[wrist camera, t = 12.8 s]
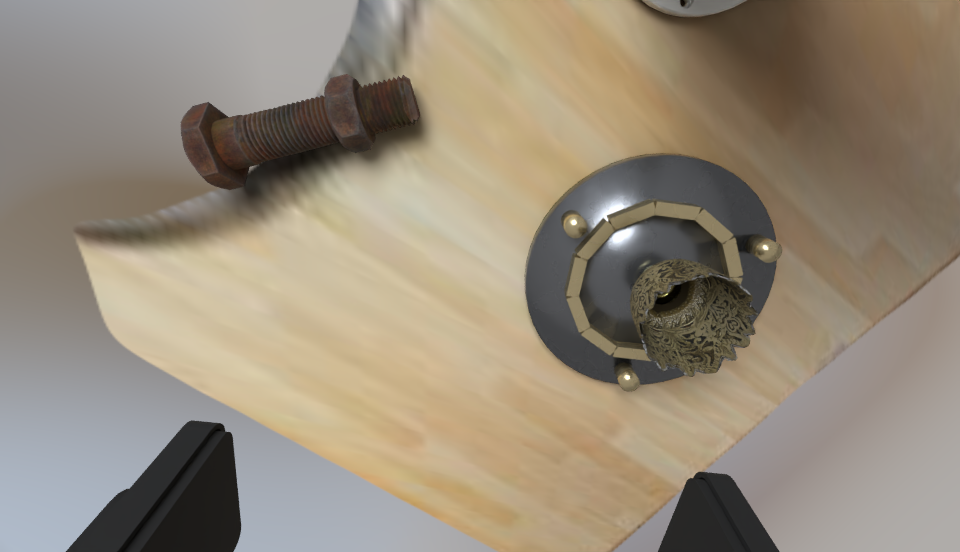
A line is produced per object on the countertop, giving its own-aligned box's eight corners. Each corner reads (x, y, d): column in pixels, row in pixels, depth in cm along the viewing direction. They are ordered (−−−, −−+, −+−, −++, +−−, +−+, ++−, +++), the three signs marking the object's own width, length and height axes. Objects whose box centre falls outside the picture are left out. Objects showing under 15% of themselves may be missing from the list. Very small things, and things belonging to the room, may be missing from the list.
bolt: (422, 107, 35) (235, 154, 36) (401, 42, 31) (192, 95, 32) (427, 154, 31) (220, 205, 32) (405, 87, 27) (169, 146, 28)
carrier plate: (549, 136, 34) (555, 141, 31) (807, 172, 35) (838, 180, 32) (507, 364, 42) (509, 385, 39) (720, 387, 43) (738, 410, 40)
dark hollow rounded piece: (719, 251, 36) (781, 294, 29) (679, 330, 39) (725, 388, 32) (632, 226, 35) (672, 264, 28) (596, 308, 38) (625, 363, 31)
